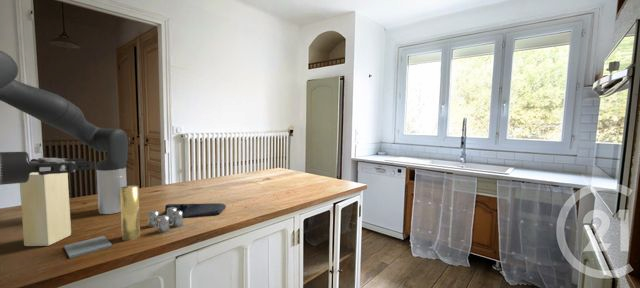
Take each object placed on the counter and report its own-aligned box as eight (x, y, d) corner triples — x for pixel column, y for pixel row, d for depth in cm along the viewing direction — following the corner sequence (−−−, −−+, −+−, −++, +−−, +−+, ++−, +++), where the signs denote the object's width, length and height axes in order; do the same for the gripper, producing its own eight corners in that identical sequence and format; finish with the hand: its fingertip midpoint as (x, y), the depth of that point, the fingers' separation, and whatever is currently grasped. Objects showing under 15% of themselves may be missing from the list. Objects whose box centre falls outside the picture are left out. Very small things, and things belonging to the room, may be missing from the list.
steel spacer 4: (171, 225, 92) (170, 212, 92) (180, 223, 94) (180, 209, 94) (174, 228, 90) (174, 214, 90) (184, 225, 92) (184, 211, 92)
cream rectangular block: (47, 234, 83) (42, 169, 81) (72, 234, 84) (68, 169, 82) (20, 246, 75) (15, 174, 73) (48, 246, 76) (43, 174, 74)
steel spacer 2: (156, 231, 87) (156, 216, 87) (167, 228, 90) (166, 214, 89) (160, 234, 85) (160, 219, 85) (171, 231, 88) (170, 216, 87)
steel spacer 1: (147, 226, 91) (146, 212, 91) (157, 223, 94) (156, 209, 94) (150, 228, 89) (149, 214, 89) (160, 225, 92) (160, 211, 92)
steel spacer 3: (164, 222, 95) (164, 208, 94) (173, 219, 97) (173, 206, 97) (169, 224, 93) (170, 210, 93) (178, 221, 96) (178, 208, 96)
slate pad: (64, 247, 75) (64, 245, 75) (104, 237, 82) (104, 235, 82) (69, 258, 69) (69, 256, 69) (112, 246, 76) (111, 244, 76)
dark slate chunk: (221, 218, 101) (221, 206, 101) (159, 221, 97) (158, 208, 97) (227, 206, 116) (227, 195, 116) (174, 207, 112) (174, 197, 112)
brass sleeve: (120, 237, 82) (118, 187, 81) (137, 233, 86) (135, 184, 84) (124, 242, 79) (122, 190, 78) (142, 237, 83) (140, 187, 81)
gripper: (-1, 154, 56) (97, 152, 69) (-6, 150, 64) (82, 148, 77) (-1, 189, 56) (97, 180, 69) (-6, 180, 64) (82, 174, 77)
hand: (89, 163), depth 73 cm, fingers open, 8 cm apart
